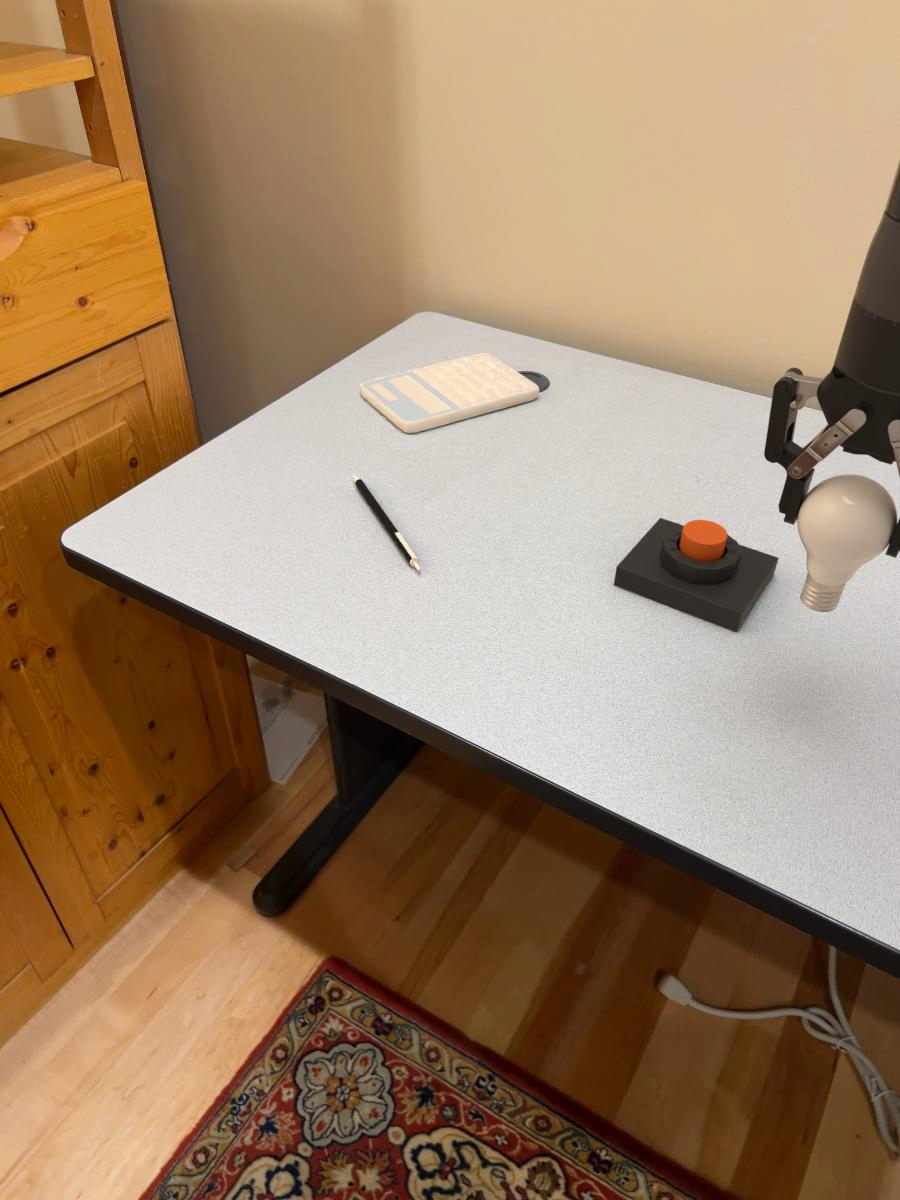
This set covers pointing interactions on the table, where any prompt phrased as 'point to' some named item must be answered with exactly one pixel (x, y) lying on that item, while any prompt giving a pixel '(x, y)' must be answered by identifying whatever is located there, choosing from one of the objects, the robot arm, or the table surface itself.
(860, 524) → the lightbulb
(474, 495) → the table surface
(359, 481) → the pen
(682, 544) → the button
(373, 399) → the calculator
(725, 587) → the housing
